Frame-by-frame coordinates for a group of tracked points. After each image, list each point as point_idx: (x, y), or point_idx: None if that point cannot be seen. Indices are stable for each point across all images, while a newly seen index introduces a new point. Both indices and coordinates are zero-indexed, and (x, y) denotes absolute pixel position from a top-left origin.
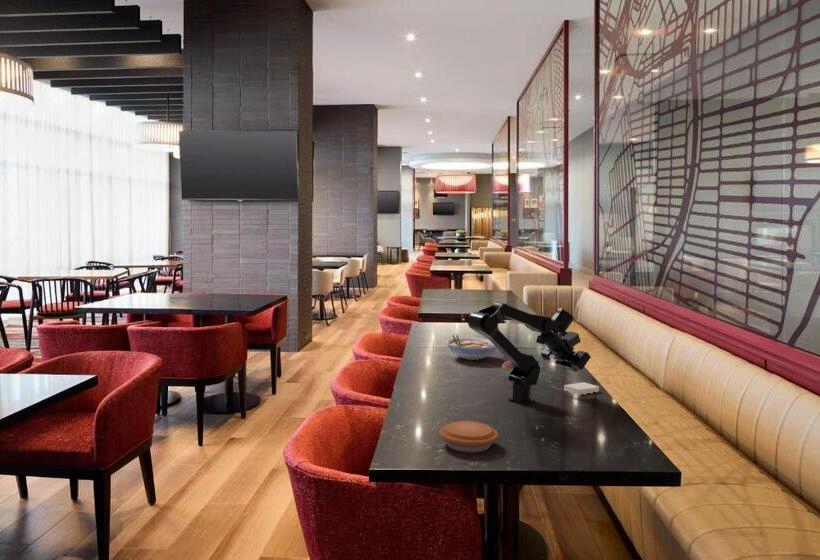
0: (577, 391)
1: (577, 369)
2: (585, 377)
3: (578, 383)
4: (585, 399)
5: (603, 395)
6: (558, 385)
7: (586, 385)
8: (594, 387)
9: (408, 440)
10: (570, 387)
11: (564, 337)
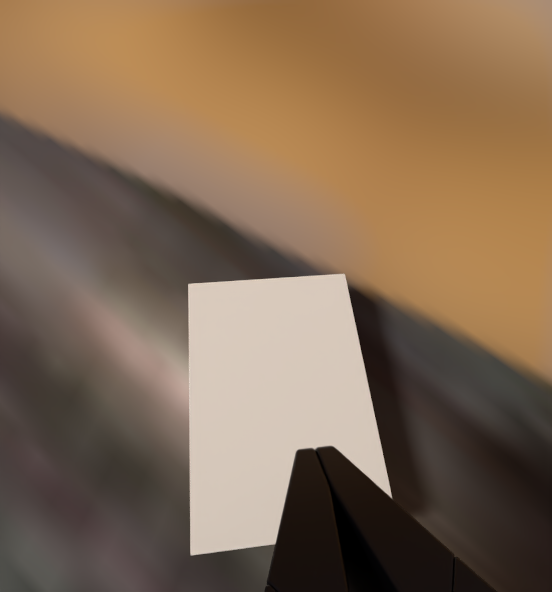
0: None
1: (341, 458)
2: (8, 131)
3: (199, 355)
4: (515, 559)
5: (425, 325)
6: (37, 468)
7: (282, 338)
8: (353, 319)
9: None
10: None
11: None
